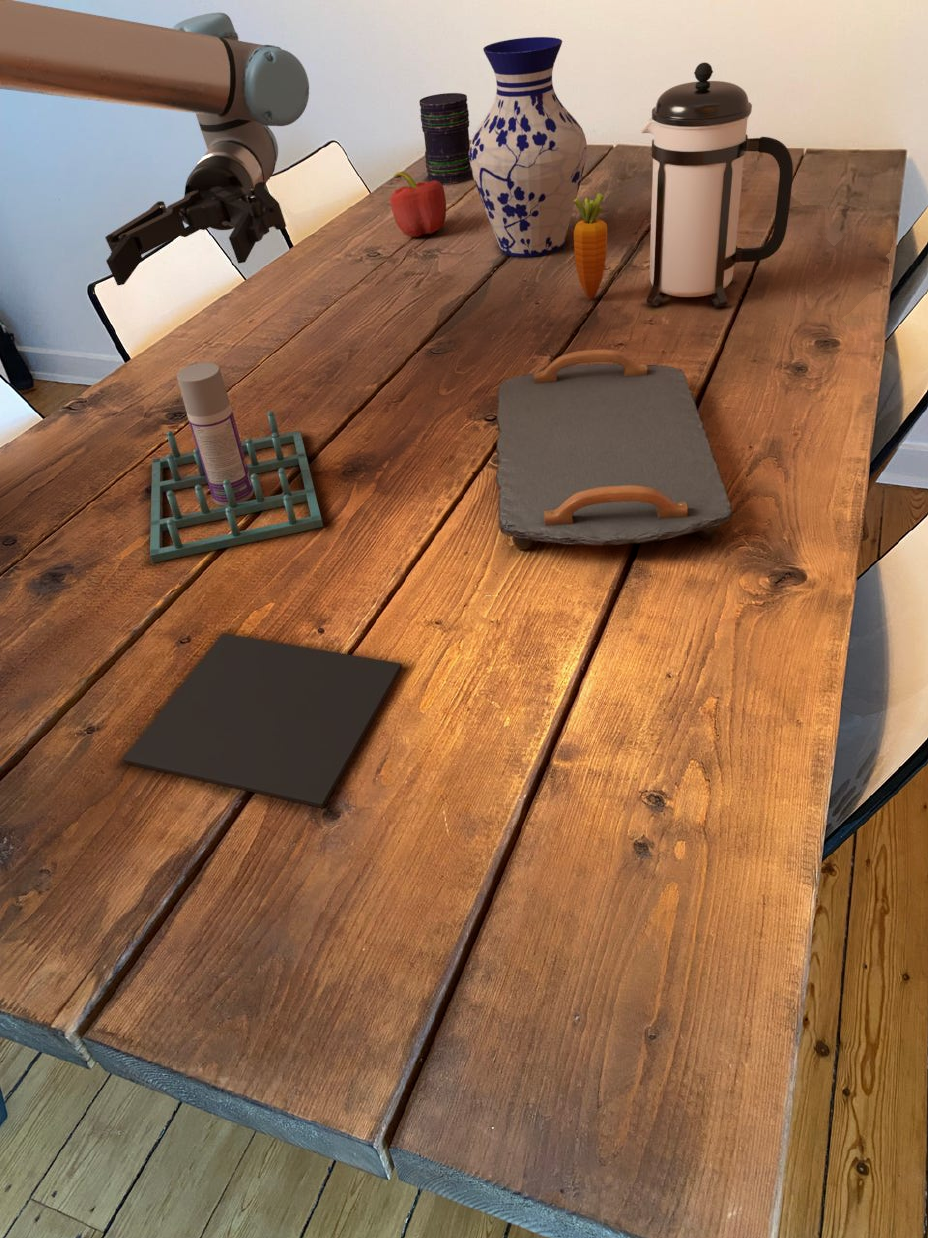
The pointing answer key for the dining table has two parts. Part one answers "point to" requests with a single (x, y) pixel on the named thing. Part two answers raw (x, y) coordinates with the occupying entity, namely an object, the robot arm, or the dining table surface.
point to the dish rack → (230, 497)
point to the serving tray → (604, 455)
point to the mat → (267, 718)
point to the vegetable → (419, 206)
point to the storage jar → (446, 137)
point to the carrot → (590, 245)
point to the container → (215, 431)
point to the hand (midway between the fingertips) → (175, 261)
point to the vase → (527, 150)
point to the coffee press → (704, 188)
